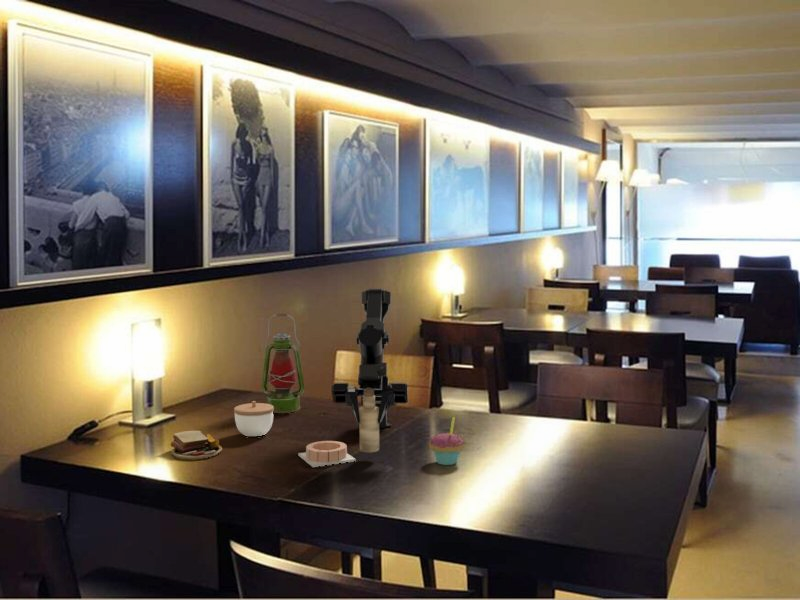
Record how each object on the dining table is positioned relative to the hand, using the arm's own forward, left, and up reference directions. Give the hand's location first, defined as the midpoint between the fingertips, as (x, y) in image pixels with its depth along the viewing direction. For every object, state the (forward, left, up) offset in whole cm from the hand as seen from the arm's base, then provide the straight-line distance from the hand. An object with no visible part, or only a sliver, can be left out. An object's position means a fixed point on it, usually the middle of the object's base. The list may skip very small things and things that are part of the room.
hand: (368, 422), depth 203 cm
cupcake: (+9, +17, -10) cm, 21 cm away
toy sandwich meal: (-27, -37, -10) cm, 47 cm away
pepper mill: (-1, +1, -7) cm, 7 cm away
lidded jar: (-37, -18, -10) cm, 43 cm away
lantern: (-62, -2, -10) cm, 63 cm away
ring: (-7, -8, -10) cm, 15 cm away
